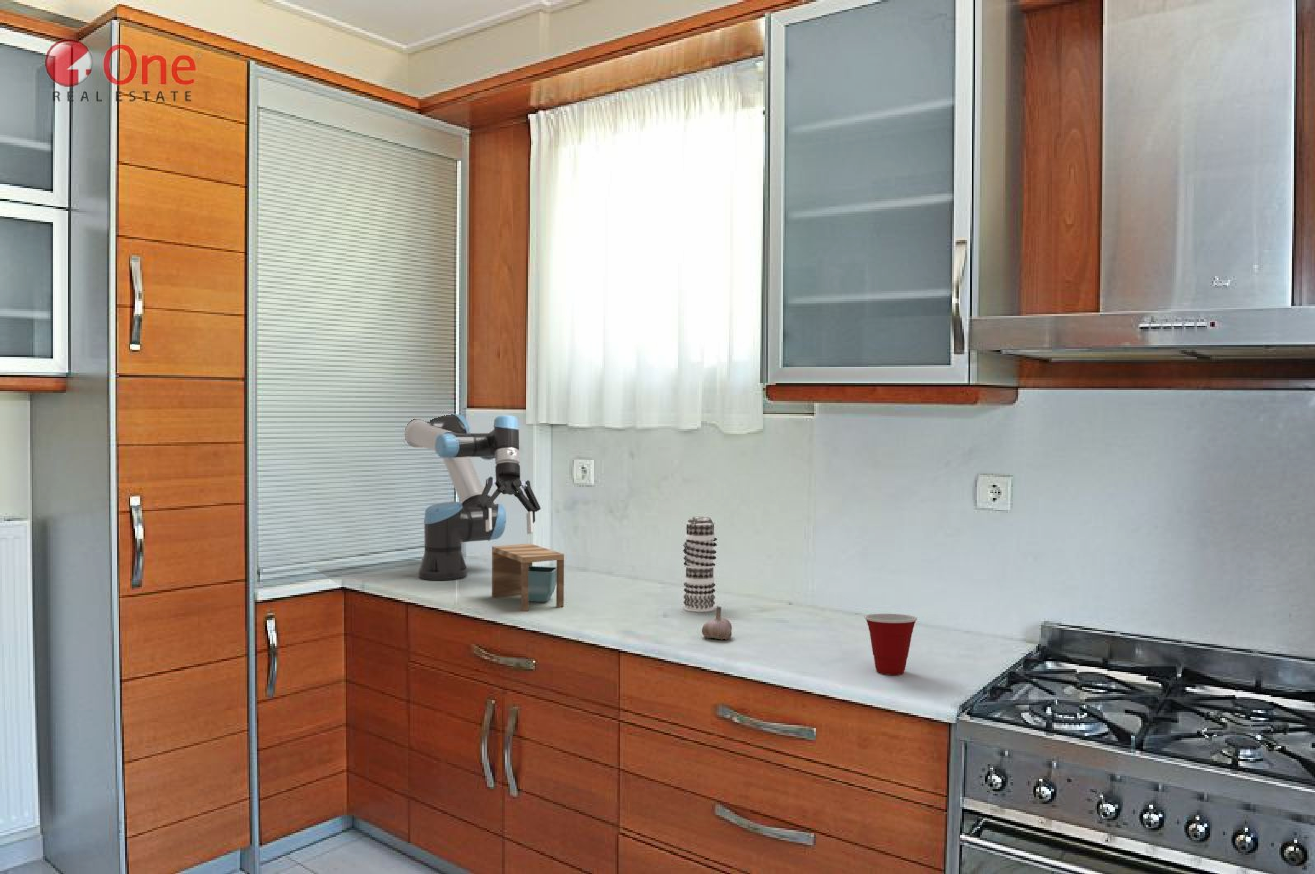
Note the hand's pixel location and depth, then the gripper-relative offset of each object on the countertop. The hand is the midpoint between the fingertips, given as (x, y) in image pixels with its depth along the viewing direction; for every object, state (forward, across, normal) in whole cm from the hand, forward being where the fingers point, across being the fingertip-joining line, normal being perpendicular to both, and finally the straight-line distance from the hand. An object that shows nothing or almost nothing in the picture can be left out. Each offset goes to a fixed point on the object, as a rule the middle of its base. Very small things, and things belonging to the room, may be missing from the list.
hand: (509, 531), depth 293 cm
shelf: (+24, -2, -14) cm, 28 cm away
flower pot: (+23, +2, -14) cm, 27 cm away
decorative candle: (+31, +34, -46) cm, 65 cm away
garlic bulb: (+43, +18, -73) cm, 86 cm away
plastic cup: (+56, +32, -113) cm, 130 cm away
